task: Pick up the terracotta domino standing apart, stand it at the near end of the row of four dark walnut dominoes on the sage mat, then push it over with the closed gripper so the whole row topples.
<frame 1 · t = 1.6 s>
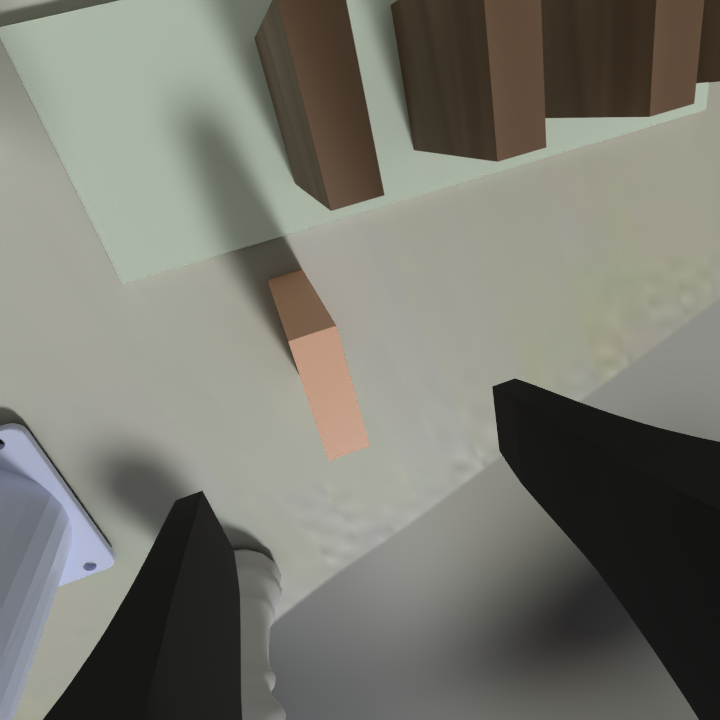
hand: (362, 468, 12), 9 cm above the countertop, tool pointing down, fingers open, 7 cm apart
rook chess piece: (235, 573, 25), on the countertop
domino 5: (648, 16, 18), resting on sage mat
domino 2: (296, 110, 16), resting on sage mat
domino 3: (421, 77, 17), resting on sage mat
terracotta domino: (300, 325, 20), on the countertop
domino 4: (539, 46, 17), resting on sage mat
sage mat: (418, 77, 17), on the countertop
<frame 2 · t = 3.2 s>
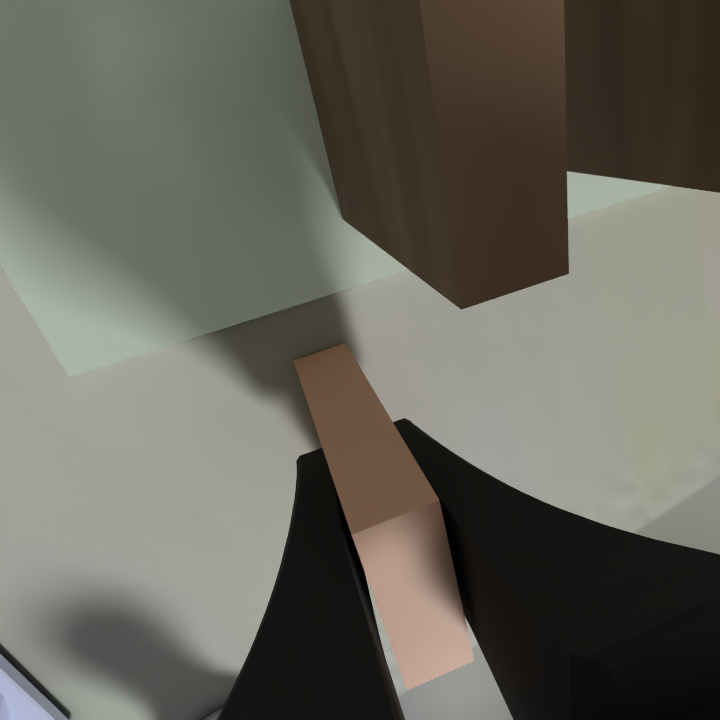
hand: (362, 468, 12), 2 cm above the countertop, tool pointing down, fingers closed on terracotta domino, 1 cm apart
domino 2: (349, 102, 10), resting on sage mat
domino 3: (547, 49, 10), resting on sage mat
terracotta domino: (340, 419, 13), on the countertop, touching gripper
sage mat: (539, 51, 11), on the countertop
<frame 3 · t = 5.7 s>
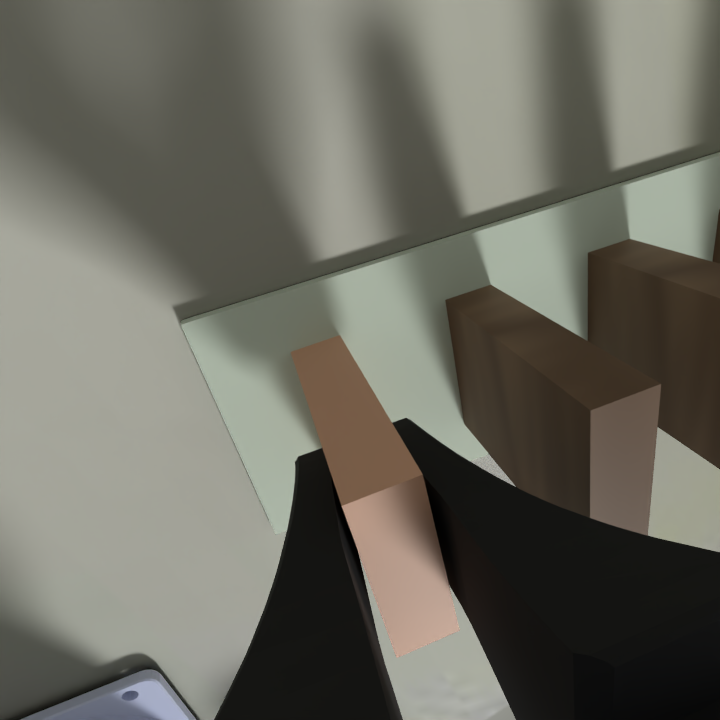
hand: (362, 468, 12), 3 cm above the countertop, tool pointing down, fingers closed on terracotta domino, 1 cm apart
domino 2: (476, 359, 15), resting on sage mat
domino 3: (607, 313, 15), resting on sage mat
terracotta domino: (336, 408, 14), resting on sage mat, touching gripper
sage mat: (600, 310, 15), on the countertop
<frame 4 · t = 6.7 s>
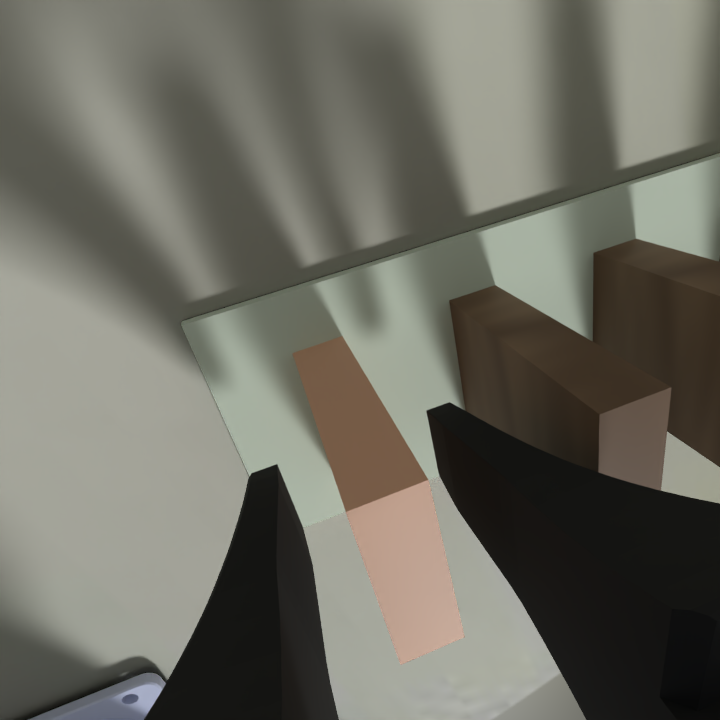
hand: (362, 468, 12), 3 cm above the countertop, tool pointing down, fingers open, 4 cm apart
domino 2: (480, 360, 14), resting on sage mat
domino 3: (612, 313, 15), resting on sage mat
terracotta domino: (338, 410, 14), resting on sage mat
sage mat: (606, 310, 15), on the countertop
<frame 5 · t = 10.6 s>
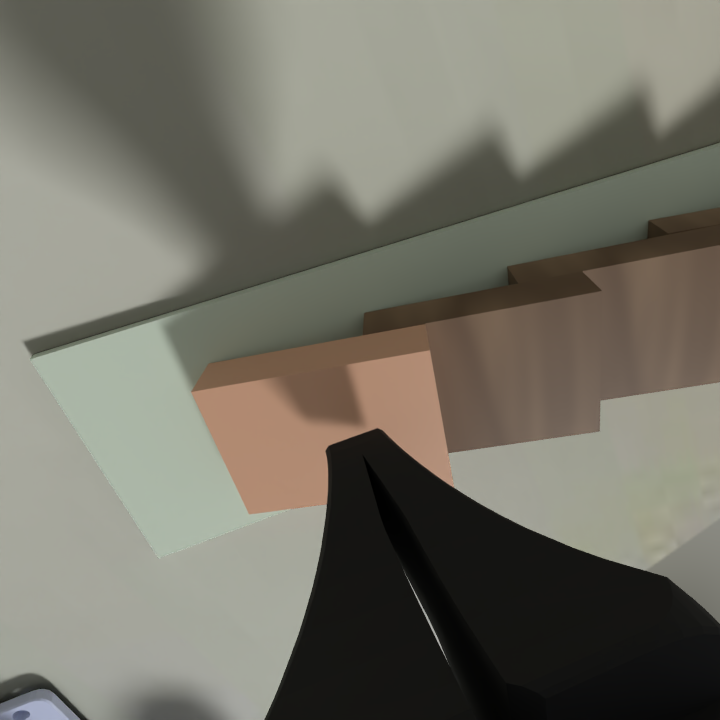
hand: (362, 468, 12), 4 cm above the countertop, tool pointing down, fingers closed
domino 2: (379, 389, 14), point 1 cm above the countertop, tilted 72°, touching domino 3, sage mat, terracotta domino
domino 3: (517, 341, 15), point 1 cm above the countertop, tilted 72°, touching domino 2, domino 4, sage mat
terracotta domino: (229, 441, 14), point 1 cm above the countertop, tilted 72°, touching domino 2, sage mat
domino 4: (652, 293, 16), point 1 cm above the countertop, tilted 68°, touching domino 3, domino 5, sage mat
sage mat: (478, 337, 16), on the countertop
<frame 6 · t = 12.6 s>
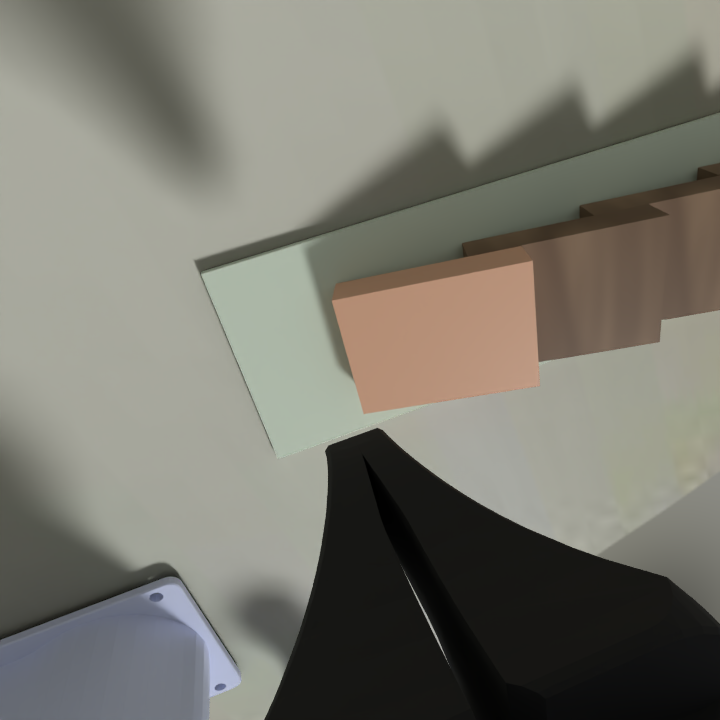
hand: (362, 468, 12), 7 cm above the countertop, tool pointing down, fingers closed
domino 2: (472, 309, 17), point 1 cm above the countertop, tilted 72°, touching domino 3, sage mat, terracotta domino
domino 3: (586, 270, 18), point 1 cm above the countertop, tilted 72°, touching domino 2, domino 4, sage mat
terracotta domino: (350, 350, 17), point 1 cm above the countertop, tilted 72°, touching domino 2, sage mat
domino 4: (700, 231, 18), point 1 cm above the countertop, tilted 69°, touching domino 3, domino 5, sage mat
sage mat: (550, 270, 18), on the countertop
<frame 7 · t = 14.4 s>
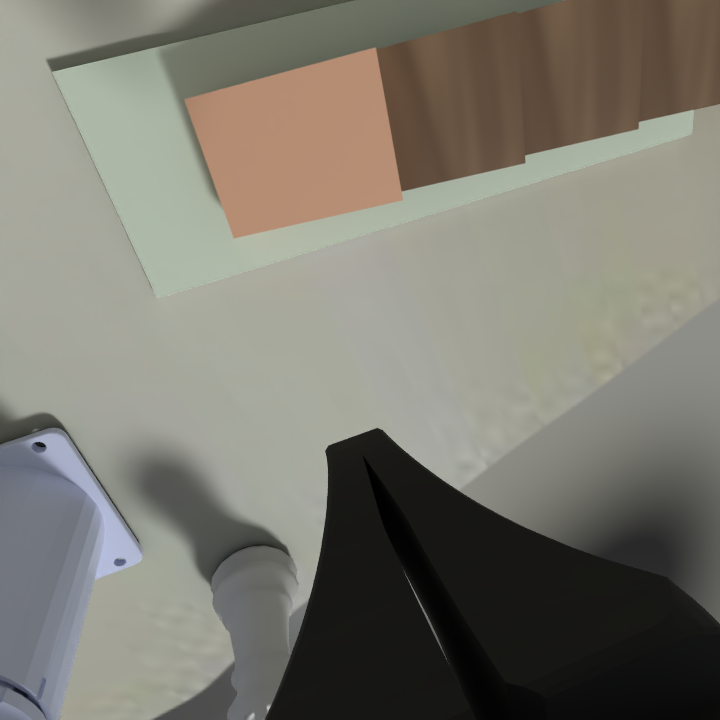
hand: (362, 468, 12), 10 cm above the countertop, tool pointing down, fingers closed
rook chess piece: (253, 569, 26), on the countertop
domino 2: (342, 135, 17), point 1 cm above the countertop, tilted 72°, touching domino 3, sage mat, terracotta domino
domino 3: (460, 102, 18), point 1 cm above the countertop, tilted 72°, touching domino 2, domino 4, sage mat
terracotta domino: (216, 170, 17), point 1 cm above the countertop, tilted 72°, touching domino 2, sage mat
domino 4: (575, 70, 18), point 1 cm above the countertop, tilted 69°, touching domino 3, domino 5, sage mat
sage mat: (428, 109, 19), on the countertop
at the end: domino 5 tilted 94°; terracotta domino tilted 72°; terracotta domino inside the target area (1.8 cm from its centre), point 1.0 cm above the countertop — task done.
